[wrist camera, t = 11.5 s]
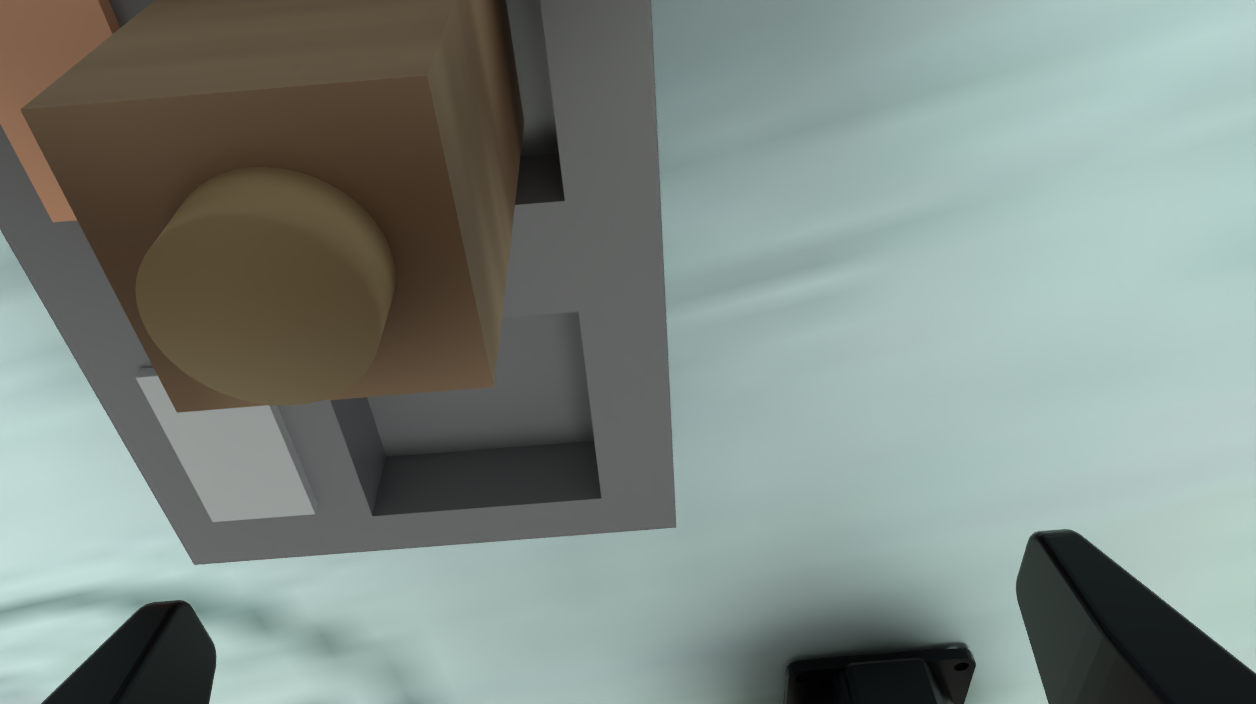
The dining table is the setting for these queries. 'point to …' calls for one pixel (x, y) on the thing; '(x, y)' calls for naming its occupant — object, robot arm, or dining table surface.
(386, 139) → the walnut plug
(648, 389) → the socket block
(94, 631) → the dining table surface
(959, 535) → the dining table surface
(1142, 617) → the robot arm
